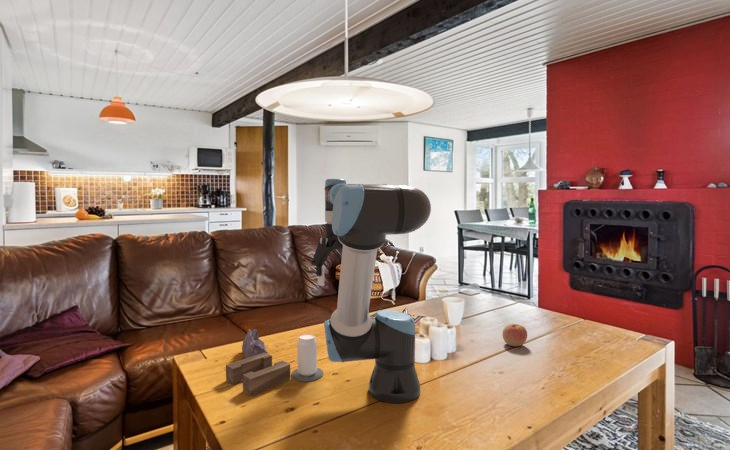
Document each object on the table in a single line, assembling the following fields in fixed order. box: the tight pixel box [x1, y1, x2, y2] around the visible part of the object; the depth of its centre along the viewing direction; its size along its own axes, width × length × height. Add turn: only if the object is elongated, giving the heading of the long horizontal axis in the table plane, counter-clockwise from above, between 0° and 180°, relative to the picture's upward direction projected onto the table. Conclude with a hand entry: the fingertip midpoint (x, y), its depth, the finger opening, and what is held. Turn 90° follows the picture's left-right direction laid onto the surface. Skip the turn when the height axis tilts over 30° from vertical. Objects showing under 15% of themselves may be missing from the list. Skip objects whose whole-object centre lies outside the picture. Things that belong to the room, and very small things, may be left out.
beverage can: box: [296, 333, 318, 376], centre depth 128 cm, size 6×6×12 cm
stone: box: [241, 328, 269, 359], centre depth 142 cm, size 10×6×15 cm
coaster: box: [291, 367, 324, 383], centre depth 129 cm, size 10×10×1 cm
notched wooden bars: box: [225, 352, 291, 397], centre depth 125 cm, size 14×14×5 cm
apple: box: [502, 323, 528, 347], centre depth 156 cm, size 9×9×8 cm
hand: (335, 282), depth 143 cm, fingers open, 13 cm apart
